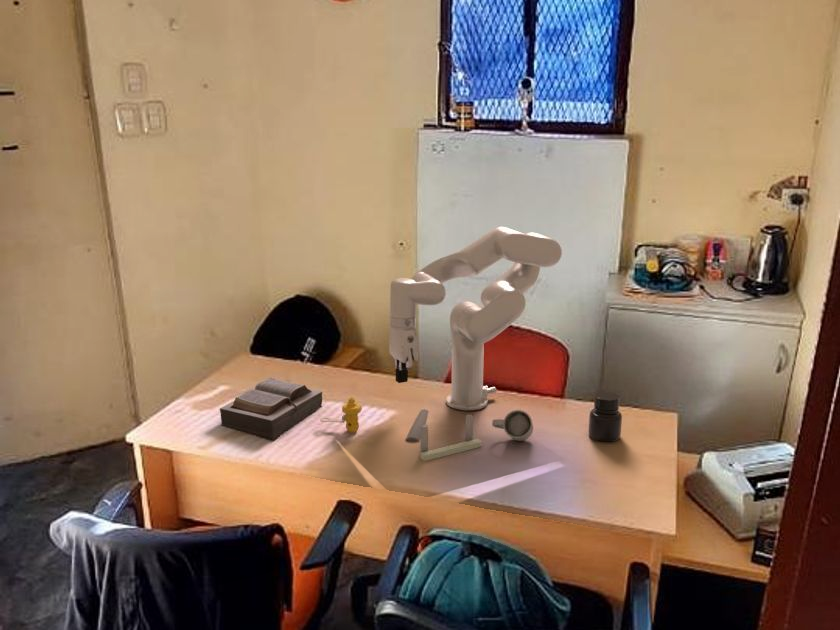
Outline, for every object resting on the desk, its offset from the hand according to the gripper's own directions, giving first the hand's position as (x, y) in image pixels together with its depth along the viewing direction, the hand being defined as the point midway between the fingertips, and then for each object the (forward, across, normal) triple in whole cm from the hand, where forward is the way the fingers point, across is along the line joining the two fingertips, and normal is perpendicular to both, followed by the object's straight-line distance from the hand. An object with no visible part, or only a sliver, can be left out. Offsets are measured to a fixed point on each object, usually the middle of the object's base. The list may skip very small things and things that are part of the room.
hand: (401, 381), depth 230 cm
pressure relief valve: (+12, -1, +20) cm, 23 cm away
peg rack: (+11, -25, -1) cm, 27 cm away
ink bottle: (+10, -39, -44) cm, 60 cm away
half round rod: (+12, -9, -1) cm, 15 cm away
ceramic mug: (+10, -30, -19) cm, 37 cm away
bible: (+13, +16, +34) cm, 40 cm away
